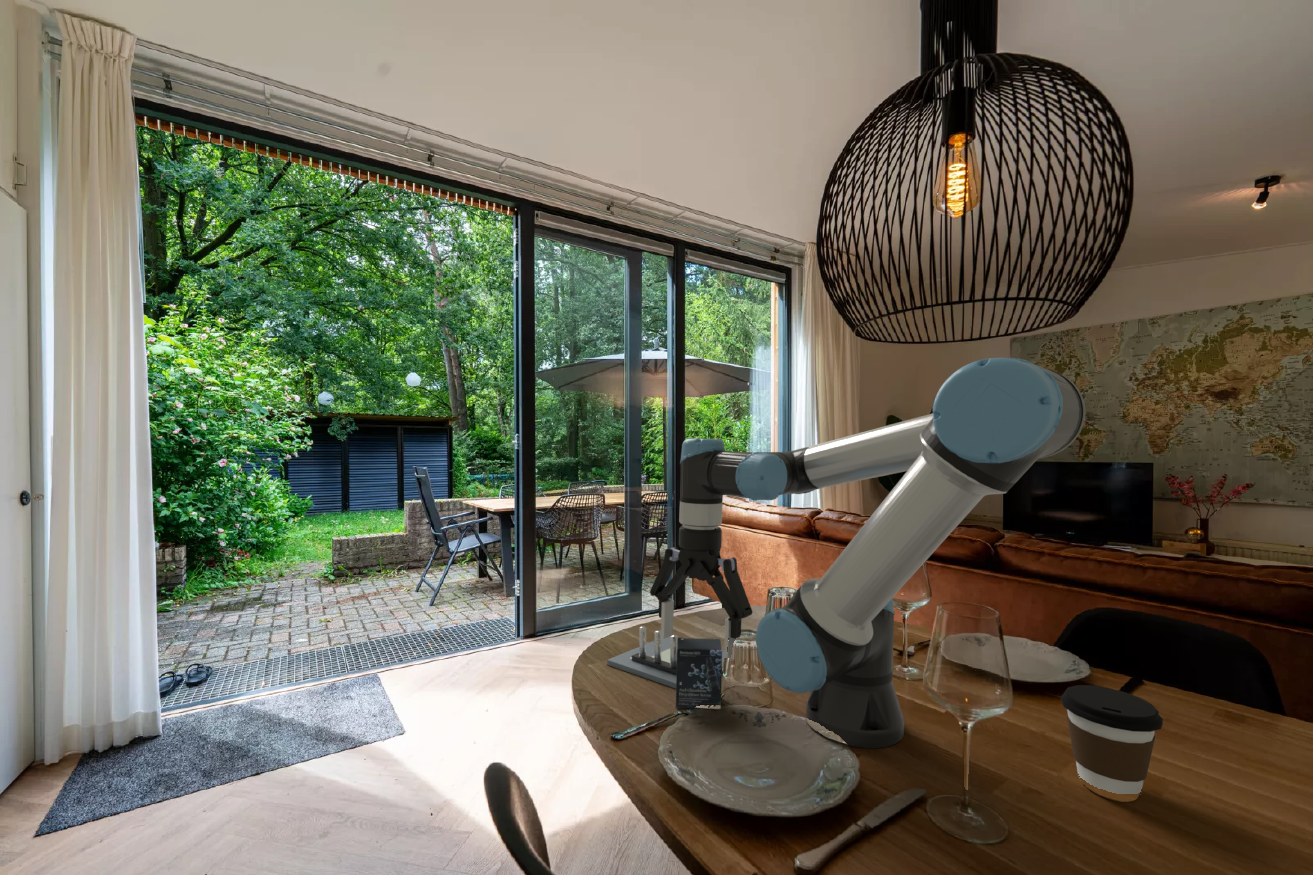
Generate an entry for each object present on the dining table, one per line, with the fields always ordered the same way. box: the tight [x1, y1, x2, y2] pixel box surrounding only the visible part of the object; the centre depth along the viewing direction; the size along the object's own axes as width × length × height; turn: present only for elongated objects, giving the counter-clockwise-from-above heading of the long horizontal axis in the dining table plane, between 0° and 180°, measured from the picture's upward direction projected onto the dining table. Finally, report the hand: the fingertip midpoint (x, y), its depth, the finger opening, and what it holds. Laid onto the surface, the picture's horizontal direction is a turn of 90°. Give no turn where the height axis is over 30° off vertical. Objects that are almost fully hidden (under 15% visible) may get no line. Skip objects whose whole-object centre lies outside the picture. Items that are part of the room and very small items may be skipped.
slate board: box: [606, 636, 724, 689], centre depth 122 cm, size 20×20×1 cm
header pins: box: [632, 625, 679, 675], centre depth 117 cm, size 12×2×7 cm, turn 51°
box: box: [675, 637, 723, 709], centre depth 104 cm, size 8×6×11 cm
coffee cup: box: [1060, 684, 1164, 794], centre depth 79 cm, size 11×11×12 cm
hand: (697, 646), depth 104 cm, fingers open, 13 cm apart
